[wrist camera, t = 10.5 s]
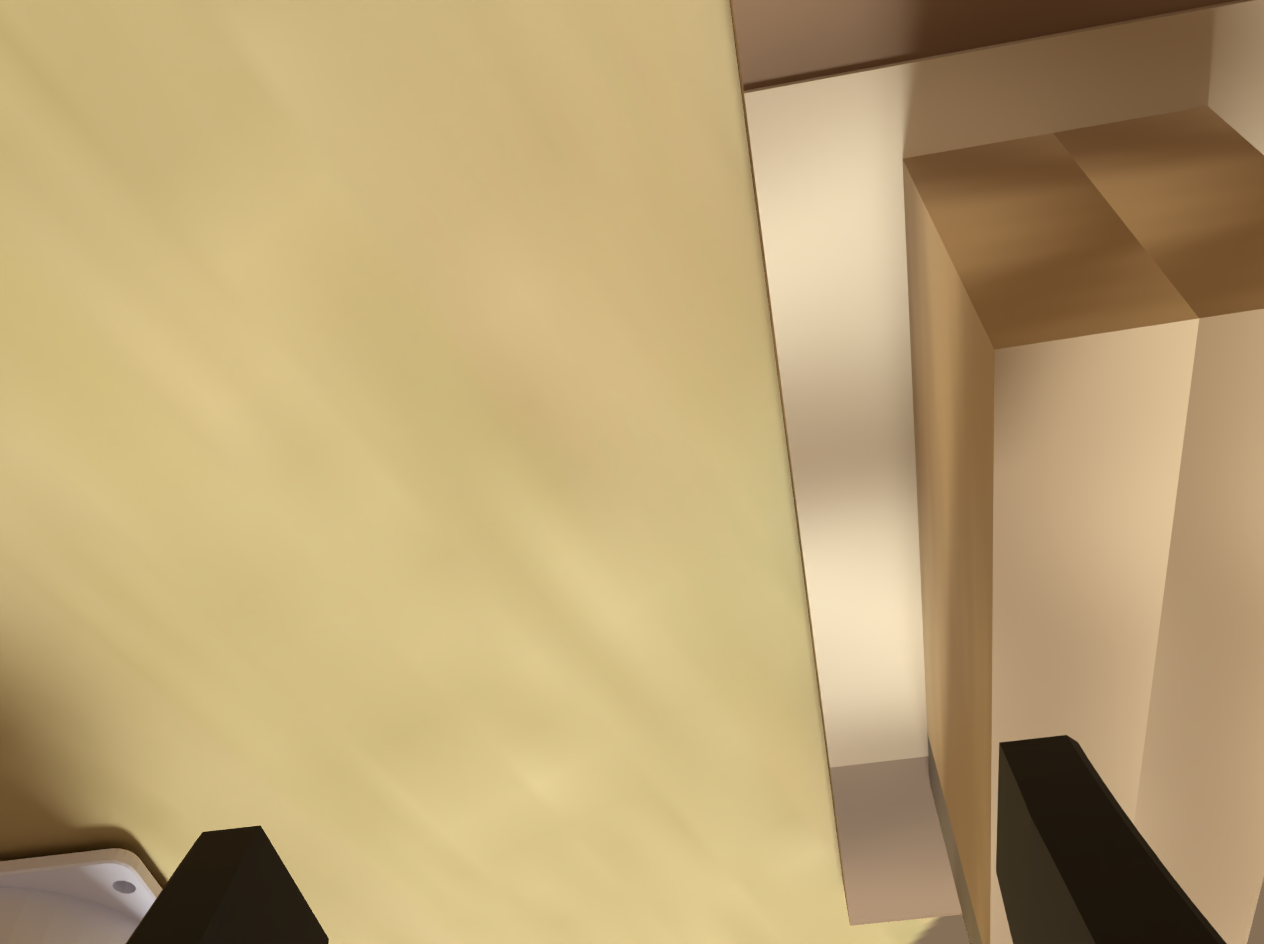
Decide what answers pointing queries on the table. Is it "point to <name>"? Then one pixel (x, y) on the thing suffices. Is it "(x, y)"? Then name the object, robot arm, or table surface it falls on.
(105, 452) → the table surface
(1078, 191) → the tan wooden bar
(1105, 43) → the board
